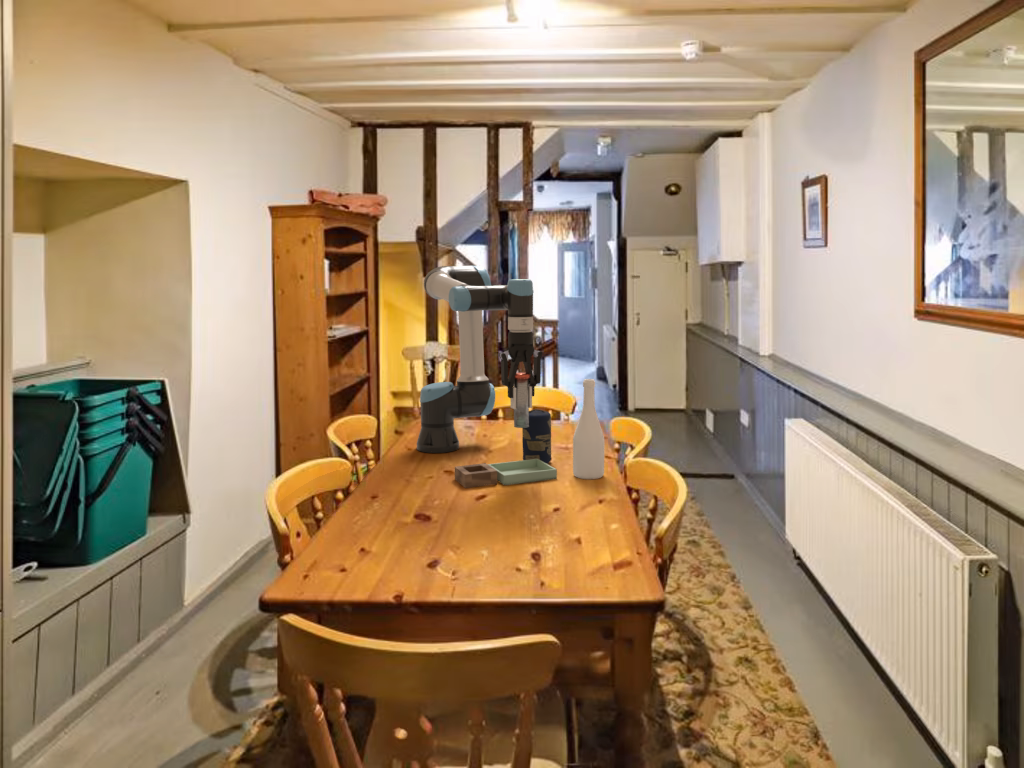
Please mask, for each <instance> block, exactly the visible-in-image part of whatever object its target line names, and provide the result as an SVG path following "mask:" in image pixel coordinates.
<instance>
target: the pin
mask: <svg viewBox="0 0 1024 768" xmlns="http://www.w3.org/2000/svg"><path fill="white" fill-rule="evenodd" d="M529 378H530V374H528V373H526V372H516V375H515V382H514V386H513V387H516V409H513V426H514V428H517V429H522V428H527V427H529V411H530V410H529V409H530V408H529Z"/></svg>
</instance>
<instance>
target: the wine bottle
mask: <svg viewBox="0 0 1024 768" xmlns="http://www.w3.org/2000/svg"><path fill="white" fill-rule="evenodd" d="M582 387H583V399H582V400H583V405H582V411H581V413H580V416H579V418H578V421H577V422H578V423H577V425H576V427H575V430H574V434H573V437H572V440H573V441H572V472H573V475H574V477H576V478H579V479H580V480H597V479H600V478H602V477H603V476H604V474H605V436H604V431H603V429H602V427H601V426H602V425H601V422H600V420H599V417H598V414H597V411H596V406H595V404H596V403H595V401H596V400H595V388H596V381H595V379H593V378H585V379H583V380H582Z"/></svg>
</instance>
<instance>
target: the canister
mask: <svg viewBox="0 0 1024 768" xmlns="http://www.w3.org/2000/svg"><path fill="white" fill-rule="evenodd" d="M521 429H522V460H530V459H539V460H541V461H543V462H544V463H546V464H549V463H550V462H551V461H552V414H551V413H550V412H549V411H546V410H543V409H537V408H536V409H535V408H534V409H532V410H531V409H530V410H529V427H527V428H521Z"/></svg>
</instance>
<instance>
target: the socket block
mask: <svg viewBox="0 0 1024 768" xmlns="http://www.w3.org/2000/svg"><path fill="white" fill-rule="evenodd" d="M487 464H488V463H486V462H485V463H477V464H476V463H475V464H466V465H457V466H454V480H455V481H456V482H457V483H459V484H460V485H461V486H463V488H465V489H469V488H477V487H478V488H479V487H485V486H492V485H493V486H494V485H498V481H497V471H496V470H495V469H493V468H492V467H490V466H489V465H487Z"/></svg>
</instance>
